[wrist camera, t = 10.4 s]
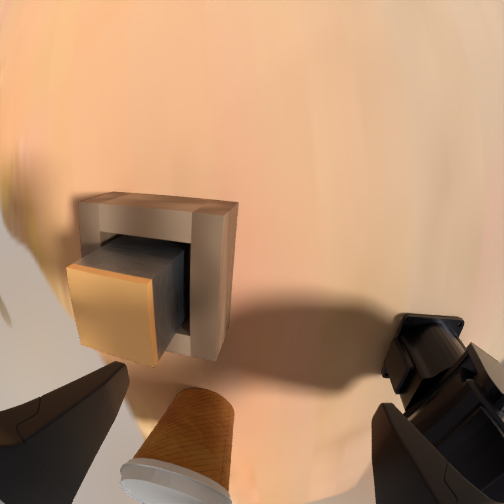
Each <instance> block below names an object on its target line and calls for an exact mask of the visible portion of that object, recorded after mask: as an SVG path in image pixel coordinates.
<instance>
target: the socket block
mask: <svg viewBox="0 0 504 504" xmlns="http://www.w3.org/2000/svg"><path fill="white" fill-rule="evenodd" d="M238 203H239V202H229V201H220V200H210V199H200V198H189V197H177V196H165V195H153V194H139V193H123V192H112V193H108V194H104V195H101V196H97V197H94V198H90V199H87V200H84V201H81V202H78V208H79V228H80V241H81V252H82V258H83V257H85V256H86V255H88V254H90V253H92V252H93V251H95V250H97V249H99V248H100V247H102V246H104V245H106V244H108V243H109V242H111V241H113V240H115V239H117V238H119V237H120V236H122V235H132V236H139V237H147V238H154V239H162V240H170V241H177V242H185V243H191V259H190V312H189V313H188V315H187V316H186V318H185V319H184V321H183V323H182V324H181V326H180V327H179V329H178V331H177V332H176V334H175V335H174V337H173V339H172V340H171V342H170V343H169V345H168V347H167V348H166V350H165V351H168V352H172V353H176V354H181V355H185V356H190V357H194V358H199V359H204V360H209V361H214V362H216V360H217V358H218V355H219V352H220V350H221V347H222V344H223V341H224V339H225V336H226V333H227V331H228V328H229V317H230V303H231V290H232V276H233V263H234V251H235V238H236V226H237V215H238Z"/></svg>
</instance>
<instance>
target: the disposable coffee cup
mask: <svg viewBox="0 0 504 504" xmlns="http://www.w3.org/2000/svg"><path fill="white" fill-rule="evenodd" d="M233 423H234V409H233V407H232V406H231V404H230V403H229V402H228V401H227V400H226V399H225V398H223V397H222V396H220V395H218V394H216V393H214V392H211V391H209V390H204V389H198V388H192V389H186V390H183V391H181V392H180V393H178V395H177V396H176V398H175V399H174V401H173V402H172V404H171V405H170V406H169V408H168V409H167V411H166V412H165V414H164V415H163V417H162V418H161V419H160V421H159V422H158V424H157V425H156V426H155V428H154V429H153V431H152V432H151V433H150V435H149V436H148V438H147V439H146V440H145V442H144V443H143V445H142V446H141V448H140V449H139V450H138V452H137V453H136V454H135V456H134V458H133V459H131V460H129V461H128V462H127V463H125V464H123V465H122V467H121V469H120V472H121V475H122V477H121V482H120V484H121V487H122V489H123V490H124V491H125V492H126V493H127V494H128V495H129V496H131V497H132V498H133V499H135V500H136V501H138V502H139V503H141V504H232V501H231V499H230V495H229V492H228V490H229V477H230V463H231V450H232V436H233Z"/></svg>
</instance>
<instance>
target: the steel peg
mask: <svg viewBox="0 0 504 504" xmlns="http://www.w3.org/2000/svg"><path fill="white" fill-rule="evenodd" d="M190 259H191V243H185V242H177V241H170V240H162V239H154V238H147V237H139V236H132V235H122V236H120V237H119V238H117V239H115V240H113V241H111V242H109V243H108V244H106V245H104V246H102V247H100V248H99V249H97V250H95V251H93V252H92V253H90V254H88V255H86V256H85V257H83V258H81V259H80V260H78V261H76V262H74V263H73V264H71V265H69V266H68V267H66V270H67V277H68V284H69V290H70V295H71V301H72V306H73V311H74V316H75V320H76V325H77V329H78V333H79V338H80V341H81V345H84V346H86V347H89V348H92V349H95V350H98V351H101V352H104V353H107V354H110V355H113V356H116V357H119V358H122V359H126V360H129V361H132V362H136V363H139V364H143V365H146V366H150V367H153V368H154V367H155V366H156V364H157V363H158V361H159V359H160V358H161V356H162V355H163V353H164V351H165V350H166V348H167V347H168V345H169V343H170V342H171V340H172V339H173V337H174V335H175V334H176V332H177V331H178V329H179V327H180V326H181V324H182V323H183V321H184V319H185V318H186V316H187V315H188V313H189V312H190Z"/></svg>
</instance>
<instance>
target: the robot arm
mask: <svg viewBox="0 0 504 504" xmlns="http://www.w3.org/2000/svg"><path fill="white" fill-rule="evenodd" d="M408 319H410V320H409V321H408V322H406V321H407V320H408ZM459 323H460V324H459ZM458 324H459V325H458ZM463 326H464V321H463V319H462V318H457V317H442V316H428V315H415V314H407V315H405V316H404V317H403V318H402V321H401V324H400V326H399V329H398V332H397V334H396V337H395V338H394V339H393V341H392V343H391V346H390V348H389V351H388V353H387V356H386V358H385V361H384V363H385V364H384V367H383V369H382V371H381V373H382V377H383V378H390V380H391V383H392V386H393V389H394V392H395V393H396V394H400V397H401V400H402V403H403V406H404V409H405V411H406V412H405V413H404V414H402V413H401V412H400V411H399V410H398V409H397V408H396V407H395V405H394V404H392V403H381V404H380V405H379V407H378V409H377V411H376V412H375V414H374V416H373V418H372V466H373V475H374V485H375V497H376V504H504V368H503V367H502V365H501V364H500V363H499V362H498V361H497V360H496V359H494V358H493V357H492V356H490V355H489V354H487V353H486V352H485V351H483V350H482V349H480V348H479V347H478V346H476V345H475V344H473V343H472V342H471V343H470V344H469V345H468V347H467V348H466V347H465V346H464V344H463V343H462V341H461V340H460V339H459V335H460V333H461V331H462V329H463ZM386 372H388V373H386ZM128 386H129V375H128V371H127V366H126V365H125V364H124V363H121V362H117V361H115V362H112V363H110V364H108V365H106V366H104V367H102V368H100V369H98V370H96V371H94V372H92V373H90V374H88V375H86V376H84V377H81V378H79V379H77V380H75V381H73V382H71V383H69V384H67V385H65V386H62V387H60V388H58V389H56V390H54V391H51V392H49V393H47V394H45V395H43V396H41V397H38V398H36V399H34V400H31V401H29V402H27V403H24V404H22V405H19V406H16V407H13V408H10V409H7V410H4V411H0V504H72V502H73V499H74V497H75V495H76V493H77V491H78V489H79V487H80V485H81V483H82V481H83V479H84V478H85V476H86V473H87V471H88V469H89V468H90V466H91V464H92V462H93V460H94V458H95V456H96V454H97V452H98V450H99V449H100V446H101V445H102V443H103V441H104V439H105V437H106V435H107V433H108V432H109V430H110V428H111V426H112V424H113V422H114V420H115V418H116V416H117V414H118V411H119V409H120V406H121V404H122V401H123V399H124V396H125V394H126V391H127V389H128Z"/></svg>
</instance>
